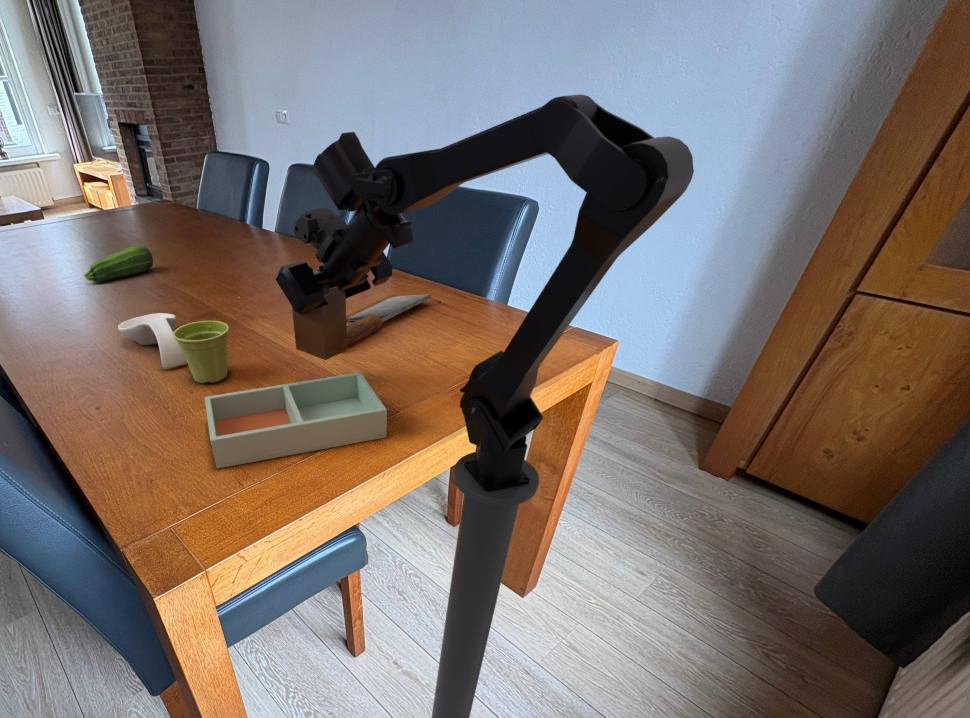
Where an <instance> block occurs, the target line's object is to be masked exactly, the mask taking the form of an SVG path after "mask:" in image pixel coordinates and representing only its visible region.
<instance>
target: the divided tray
mask: <svg viewBox="0 0 970 718" xmlns="http://www.w3.org/2000/svg"><path fill="white" fill-rule="evenodd" d="M204 403H205V410H206V419H207V424H208V432H209V433H208V434H209V439H210V440H209V441H210V444H211V449H212V454H213V458H214V462H215V466H216V469H222V468H223V469H224V468H227V467H234V466H240V465H244V464H250V463H255V462H256V463H257V462H261V461H266V460H272V459H277V458H282V457H289V456H291V455H292V456H293V455H299V454H305V453H309V452H315V451H320V450H324V449H330V448H336V447H341V446H347V445H353V444H357V443H363V442H368V441H374V440H378V439H380V440H381V439H384V438H387V429H388V426H387V425H388V423H387V422H388V409H387V408H386V406H385V405H384V403H383V402H382V401H381V399H380V397H378V395H377V393H376V392H375V391H374V389H373V388H372V387H371V385H370V384H369V383H368V381H367V379H366V378H365V377H364V376H363V374H362V372H360V371H359V372H353V373H345V374H340V375H333V376H328V377H321V378H316V379H309V380H303V381H296V382H290V383H283V384H278V385H271V386H265V387H257V388H252V389H246V390H239V391H234V392H233V391H232V392H228V393H221V394H214V395H209V396H204Z"/></svg>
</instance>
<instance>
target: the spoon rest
mask: <svg viewBox="0 0 970 718" xmlns="http://www.w3.org/2000/svg"><path fill="white" fill-rule="evenodd" d="M176 324H177V316H176V315H175V314H172V313H166V312H157V313H149V314H145V315H139V316H136V317H132V318H130V319H127V320H124V321H123V322H120V323H119V324H118V326H117V329H118V331H119V332H120V333H121V334H122V336H123V337H125V338H127V339H129V340H131V341H133V342H136V343H137V344H139V345H143V346H151V345H156V344H157V345H158V349H159V355H160V361H161V366H162V369H163V370H169V369H173V368H176V367H181V366H184V365H186V364H188V363H187V360H186V358H185V355H184V353H183V350H182V348H181V347H180V346H179V344H178V341H177V340H176V339H174V337H173V332H174V330H175V327H176Z"/></svg>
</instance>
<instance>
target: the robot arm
mask: <svg viewBox="0 0 970 718" xmlns="http://www.w3.org/2000/svg"><path fill="white" fill-rule="evenodd" d="M546 155H547V156H548V155H550V156H551V157H552V158H554V159H555V161H556V162H557V163H558V165H559V166H560V168H561V169H562V170H563V172H564V173H565V174H566V175H567V177H568V178H569V180H570V181H571V182H572V183H574V184H575V185H576V186H577V187H579V189H581V190H583V191H584V192H585V194H584V198H583V200H582V202H581V204H580V207H579V209H578V213H577V217H576V223H575V227H574V233H573V238H572V240H571V243H570V244H569V247H568V248H567V250H566V252H565V253H564V255H563V257H562V258H561V260H560V261H559V263H558V264H557V266H556V268H554V271H553V273H552V274H551V276H550V277H549V279H548V280H547V282H546V283H545V285H544V287H543V289H542V290H541V292H540V293H539V295H538V296H537V298H536V300H535V301H534V303H533V304H532V307H531V308H530V310H529V311H528V313H527V314H526V315H525V318H524V320H523V321H522V322H521V324H520V326H519V327H518V328H517V330H516V331H515V333H514V335H513V337H512V338H511V339H510V342H509V343H508V345H507V346H506V348H505V349H504V351H503V350H501V349H500V350H499V351H498V352H496V353H494V354H493V355H490V356H489V357H488V358H486V359H484V360H482V361H480V362H479V363H477V364H476V365H474V367H473V369H472V370H471V372H470V374H469V378H468V379H467V382H466V383H465V385H463V387H461V388H459V392H460V393H462V395H461V397H460V400H459V408H460V409H461V412H462V414H463V418H464V422H465V427H466V433H467V437H468V441H469V443H470V444H471V445H475V446H476V447H475V451H474V452H475V460H471V461H466V462H465V463H464V467H465V468H466V469H467V470H468V471H469V473H470V474H471V475H472V476H473V478H474V479H475V480H476V481H477V482H478V484H479V485H480V486H481V487H482V489H483V490H484V491H486V492H490V491H495V490H500V489H504V488H509V487H514V486H518V485H523V484H528V483H529V481H530V478H529V477H528V476H527V475H526V474H525V473H524V472H523V471H522V468H523V463H524V460H526V459H525V458H526V455H527V449H528V443H527V435H529V434H530V433H531V432H532V431H535V430H536V429H537V428H538V427H539V425H540V424H541V422H542V421H543V419H544V415H543V414H542V412H541V411H540V409H539V407H538V406H537V405H536V403H535V401H534V399H533V398H532V392H533V391H534V389H535V387H536V384H537V379H538V373H539V370H540V369H539V368H540V367H541V365H542V363H543V362H544V361H545V360H546V358H547V357H548V355H549V354H550V352H551V351H552V350H553V348H554V347H555V345H556V344H557V342H558V341H559V339H560V338H561V337H562V336H563V334H564V333H565V331H566V330H567V328H568V327H569V326H570V324H571V323H572V321H573V320H574V319H575V318H576V316H577V315H578V313H579V312H580V310H581V309H582V308H583V306H584V305H585V304H586V302H587V301H588V299H589V298H590V297H591V296H592V294H593V292H594V291H595V290H596V288H597V287H598V285H599V284H600V283H601V281H602V280H603V278H605V275H606V274H607V273H608V271H609V270H610V269H611V268H612V266H613V264H614V263H615V262H616V260H617V259H618V258H619V257H620V256H621V255H622V254H623V253H624V252H625V251H626V250H627V249H628V248H629V247H630V246H632V244H634V243H635V242H636V241H637V240H638V239H640V238H641V236H642V235H644V234H645V233H646V232H647V231H648V230H649V229H650V228H651V227H652V226H653V225H654V224H655V223H657V221H658V220H659V219H660V218H661V217H662V216H664V214H665V213H666V212H667V211H668V210H669V209H670V208H671V207H672V206H673V205H674V204H675V203H676V202H677V201H678V200H679V199H681V197H682V196H683V195H684V193H686V191H687V189H688V188H689V185H690V183H691V182H692V179H693V176H694V173H695V169H694V158H693V155H692V152H691V150H690V148H689V146H688V145H687V144H686V143H684V141H682V140H681V139H680V138H676V137H673V136H657V137H654V136H653V135H651V134H650V133H649V132H647V131H645V129H643V128H641V127H639V126H638V125H636V124H634V123H632V122H630V121H628V120H625V119H623V118H622V117H620V116H618V115H616V114H614V113H612V112H610V111H608V110H606V109H605V108H604V107H602V106H601V105H599V104H598V103H597V102H595V101H594V100H593V99H592V97H590V96H589V95H585V94H582V93H581V94H571V95H561V96H557V97H553V98H551V99H550V100H549V101H547V102H546V103H545V104H543V105H542V106H540V107H537V108H535V109H532V110H531V111H528V112H526V113H523V114H520V115H517V116H516V117H514V118H511V119H508V120H506V121H503V122H501V123H499V124H496V125H494V126H492V127H489V128H487V129H485V130H482V131H480V132H477V133H475V134H472V135H470V136H467V137H466V138H463V139H461V140H460V139H459V140H458V141H455V142H453V143H451V144H449V145H445V146H444V147H441V148H435V149H430V150H429V149H427V150H422V151H417V152H410V153H405V154H399V155H398V154H397V155H392V156H387V157H384V158H382V159H381V160H379V161H378V163H377V164H376V165H374V164H373V162H372V160H371V159H370V158H369V156H368V154H367V153H366V151H365V150H364V148H363V146H362V144H361V141H360V139H359V137H358V136H357V134H356V133H355V131H349V132H341V134H340V136H339V138H338V139H337V140H335V141H334V142H332V143H331V144H329V145H328V146H327V147H326V148H325V149H324V150H323V151H322V152H321V153H319V154H318V155H317V156H316V158H315V159H314V162H313V167H312V168H313V172H314V174H315V175H316V177H317V178H318V180H319V181H320V183H321V184H322V186H323V188H324V189H325V191H326V192H327V194H328V196H329V198H330V200H331V201H332V202H333V204H334V205H335V207H336V209H337V210H338V211H345V210H347V211H348V212H349V213H353V212H354V214H352V217H351V218H350V220H349V221H348V223H347V222H346V221H344V220H343V219H342V218H341V217H340V216H338V214H337V213H335V212H334V211H332V210H331V209H329V208H327V207H319V208H315V209H310V210H307V211H304V213H302V214H299V217H298V218H297V220H295V221H294V229H293V233H294V236H295V237H296V238H297V239H298V240H299V241H301V242H302V243H303V244H304V245H307V244H310V245H311V246H312V247H313V248H315V249H316V252H315V253H314V256H315V258H316V260H317V261H318V262H319V263H322V265H319V266H317V268H316V270H318V272H319V273H318V274H315V275H314V274H313V272H312V271H311V269H310V267H309V266H310V265H309V264H308V262H306V261H303V260H298V261H295V262H292V263H288V264H285V265H282V266H280V268H279V270H278V271H277V273H276V275H275V281H276V284H277V285H278V286H279V288H280V289H281V291H282V293H283V294H284V296H285V298H286V299H287V300H288V302H289V304H290V305H291V308H292V307H293V309H294V310H295V312H298V313H300V314H301V315H304V314H306V313H309V312H311V311H314V310H316V309H318V308H321V307H324V306H326V305H328V303H327V301H326V300H325V298H324V297H325V296H327V295H328V294H329V290H330V289H333V288H336V287H338V288H339V290H340V291H342V290H345V296H346V299H348V298H352V297H353V296H356V295H358V294H362V293H363V292H366V291H368V290H371V288H372V286H371V283H372V285H373V286H374V287H377V286H380V285H382V284H385V283H387V281H389V279H390V278H391V277H392V276H393V265H392V262H391V261H390V259H389V258H388V256H387V255H386V254H385V252H384V251H385V250H386V249H387V248H388V247H389V246H391V248H392V249H398V248H401V247H405V246H407V245H411V244H413V243H414V232H413V228H412V227H413V222H412V221H411V220H406V219H405V217H404V216H403V214H404V213H408V212H411V211H415V210H419V209H423V208H426V207H429V206H431V205H432V204H434V203H436V202H437V201H439V200H441V199H443V198H444V197H446V196H447V195H449V194H450V193H451V192H453V191H454V190H456V189H457V188H458V187H459V186H461V185H463V184H464V183H467V182H470V181H472V180H475V179H480V178H481V177H485V176H487V175H488V176H489V175H491V174H494V173H496V172H500V171H502V170H506V169H508V168H512V167H514V166H517V165H520V164H524V163H526V162H529V161H532V160H534V159H538V158H541V157H544V156H546ZM370 272H371V273H372V275H373V279H372V280H371V283H370V282H369V280H368V279H369V275H368V274H369V273H370Z"/></svg>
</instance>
